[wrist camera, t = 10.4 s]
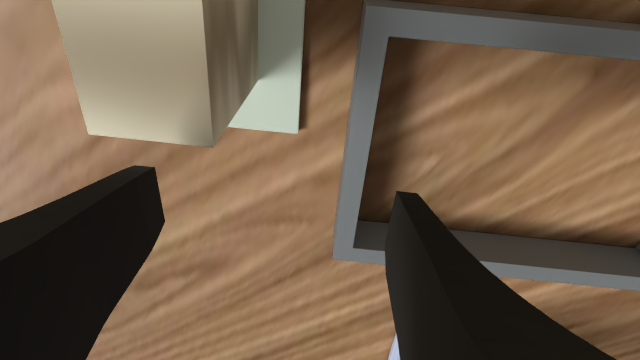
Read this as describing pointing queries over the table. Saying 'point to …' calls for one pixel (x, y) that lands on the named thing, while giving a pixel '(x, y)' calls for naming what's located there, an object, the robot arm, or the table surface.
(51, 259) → the robot arm
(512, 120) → the table surface
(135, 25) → the birch block
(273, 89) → the mat
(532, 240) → the gray rectangular frame
